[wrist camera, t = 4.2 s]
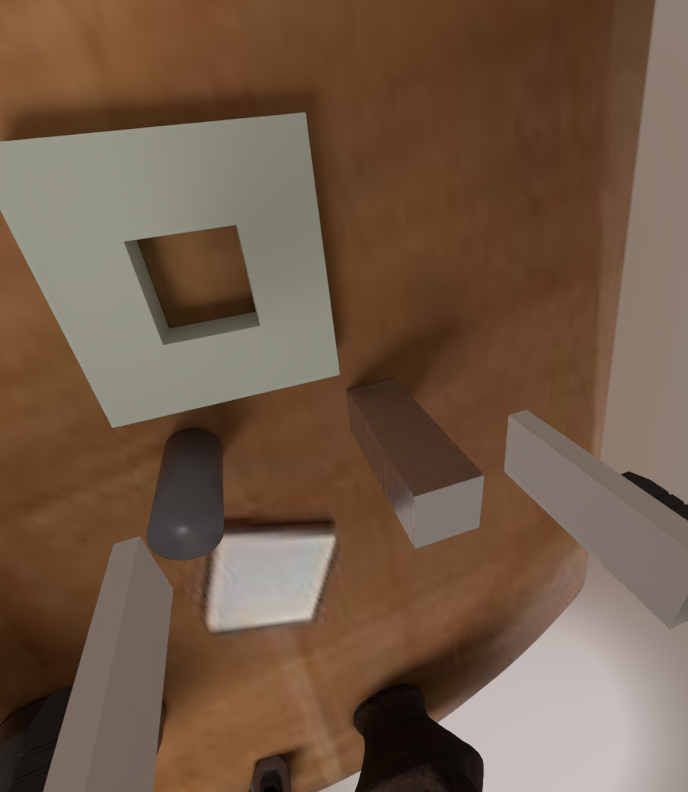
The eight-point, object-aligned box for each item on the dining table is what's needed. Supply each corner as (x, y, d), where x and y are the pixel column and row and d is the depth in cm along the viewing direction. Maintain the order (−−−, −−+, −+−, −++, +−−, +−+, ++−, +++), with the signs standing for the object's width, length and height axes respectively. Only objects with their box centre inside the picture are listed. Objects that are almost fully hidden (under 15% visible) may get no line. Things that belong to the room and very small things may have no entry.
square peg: (351, 432, 31) (415, 548, 21) (346, 390, 29) (414, 496, 19) (396, 420, 32) (479, 527, 22) (394, 378, 30) (484, 475, 20)
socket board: (123, 403, 25) (112, 428, 22) (2, 151, 18) (-34, 144, 15) (328, 357, 28) (339, 374, 25) (294, 121, 20) (305, 112, 18)
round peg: (174, 478, 29) (161, 568, 22) (155, 436, 27) (134, 520, 20) (228, 464, 29) (231, 547, 23) (213, 422, 27) (212, 499, 21)
